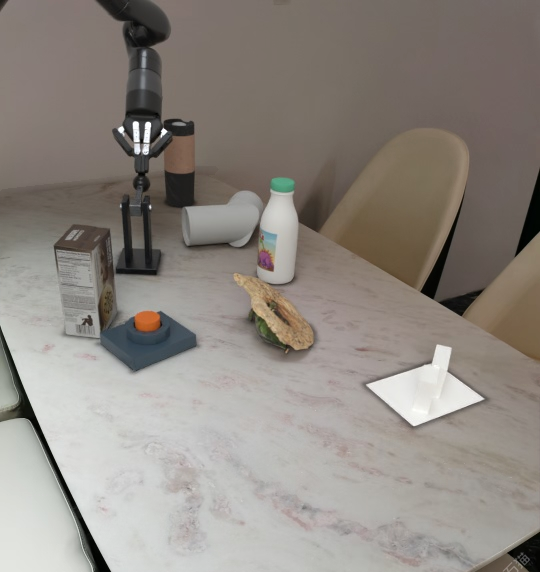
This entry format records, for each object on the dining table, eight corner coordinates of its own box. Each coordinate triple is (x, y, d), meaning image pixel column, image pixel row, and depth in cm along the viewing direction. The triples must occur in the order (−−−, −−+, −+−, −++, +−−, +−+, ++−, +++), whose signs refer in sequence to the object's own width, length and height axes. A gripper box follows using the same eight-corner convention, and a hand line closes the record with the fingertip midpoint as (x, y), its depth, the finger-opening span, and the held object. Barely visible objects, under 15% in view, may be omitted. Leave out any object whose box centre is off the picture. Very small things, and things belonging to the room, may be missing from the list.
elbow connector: (255, 255, 128) (271, 222, 144) (247, 207, 123) (264, 179, 139) (178, 260, 132) (202, 228, 148) (166, 214, 127) (193, 186, 143)
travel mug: (170, 208, 151) (167, 126, 140) (161, 198, 157) (159, 118, 146) (198, 206, 154) (199, 125, 143) (189, 196, 160) (189, 117, 148)
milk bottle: (289, 268, 127) (298, 174, 116) (297, 284, 121) (307, 187, 109) (253, 268, 125) (259, 173, 114) (259, 285, 119) (266, 186, 108)
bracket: (123, 252, 127) (118, 189, 120) (160, 254, 128) (158, 191, 120) (116, 273, 119) (110, 206, 111) (156, 274, 120) (154, 208, 112)
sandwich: (316, 366, 108) (339, 337, 104) (261, 379, 97) (285, 347, 93) (261, 297, 115) (281, 267, 110) (205, 302, 104) (224, 269, 100)
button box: (134, 371, 92) (133, 349, 90) (100, 343, 98) (98, 322, 96) (196, 345, 99) (196, 325, 97) (161, 321, 105) (160, 301, 103)
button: (144, 335, 94) (143, 325, 93) (130, 324, 96) (129, 315, 96) (165, 327, 97) (165, 318, 96) (151, 317, 99) (150, 308, 98)
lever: (134, 186, 127) (133, 170, 124) (151, 187, 127) (150, 171, 124) (126, 218, 117) (125, 202, 115) (145, 219, 117) (144, 203, 115)
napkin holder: (433, 361, 100) (441, 332, 97) (485, 398, 93) (496, 368, 89) (364, 385, 93) (370, 354, 90) (414, 427, 86) (423, 395, 82)
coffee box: (83, 308, 107) (73, 222, 98) (118, 312, 106) (111, 226, 97) (64, 335, 99) (51, 244, 90) (102, 339, 99) (92, 248, 90)
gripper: (109, 85, 122) (105, 164, 120) (174, 89, 124) (172, 167, 121) (115, 106, 130) (111, 181, 127) (176, 109, 131) (174, 183, 128)
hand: (141, 174), depth 124 cm, fingers closed
